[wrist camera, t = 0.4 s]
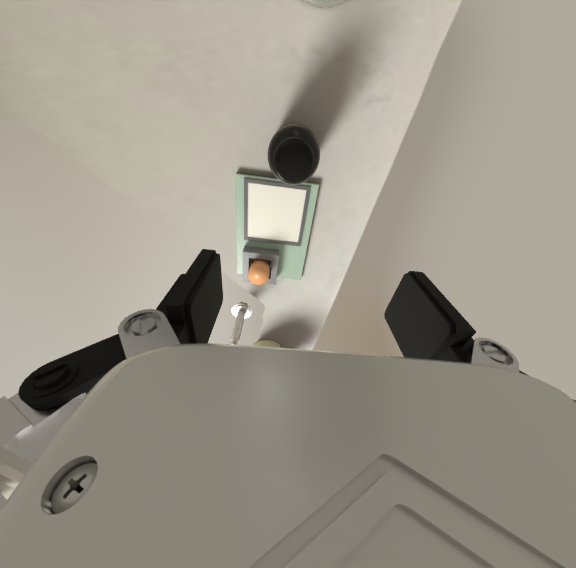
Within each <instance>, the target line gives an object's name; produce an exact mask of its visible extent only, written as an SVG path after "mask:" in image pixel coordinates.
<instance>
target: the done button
mask: <svg viewBox="0 0 576 568" xmlns="http://www.w3.org/2000/svg"><path fill="white" fill-rule="evenodd" d="M269 273H270V263H269V261H268V260H263V259H253V260H252V262H251V266H250V269H249V273H248V278H249V280H250V281H251V282H252V283H254V284H256V285H262V284H265V283H266V282H267V281H268V279H269Z"/></svg>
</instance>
